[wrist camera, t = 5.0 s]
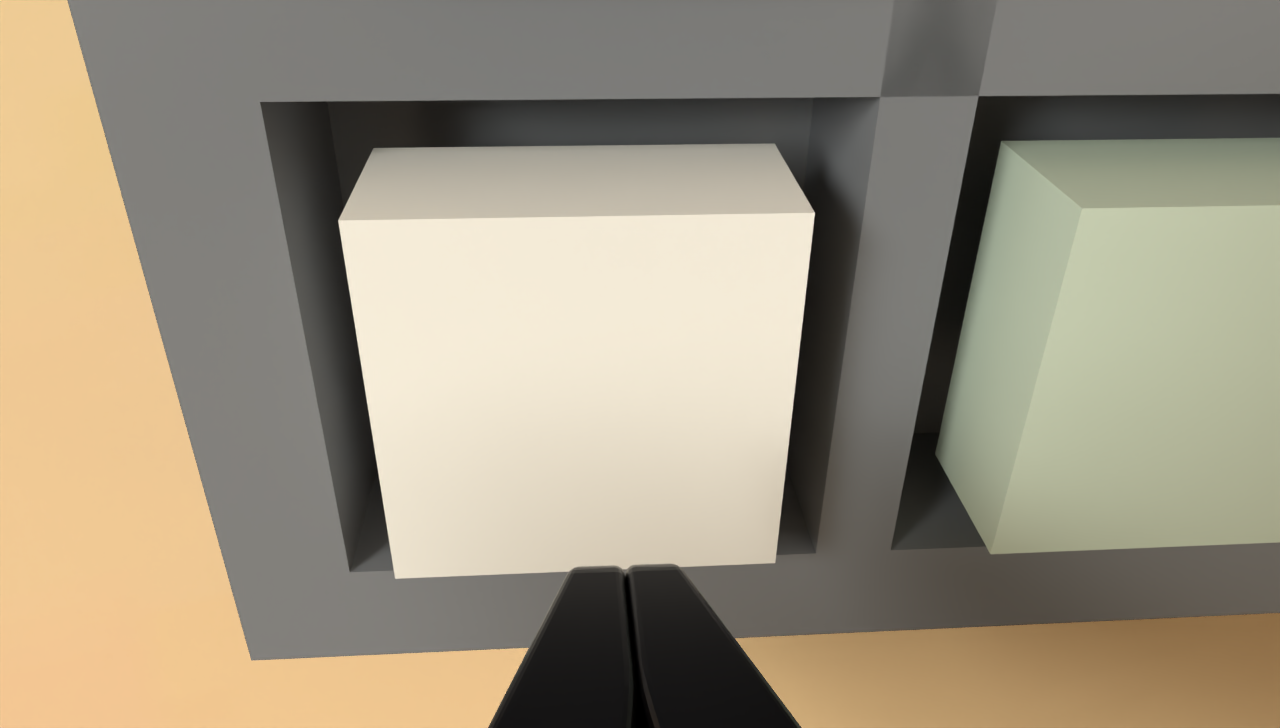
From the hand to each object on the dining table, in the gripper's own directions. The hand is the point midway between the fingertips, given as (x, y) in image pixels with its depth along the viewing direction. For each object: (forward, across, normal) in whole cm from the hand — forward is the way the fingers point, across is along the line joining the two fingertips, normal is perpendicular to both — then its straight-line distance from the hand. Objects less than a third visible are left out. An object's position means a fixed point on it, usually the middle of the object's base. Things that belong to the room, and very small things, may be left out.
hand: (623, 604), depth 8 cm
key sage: (+5, -7, 0) cm, 8 cm away
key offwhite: (+5, 0, 0) cm, 5 cm away
